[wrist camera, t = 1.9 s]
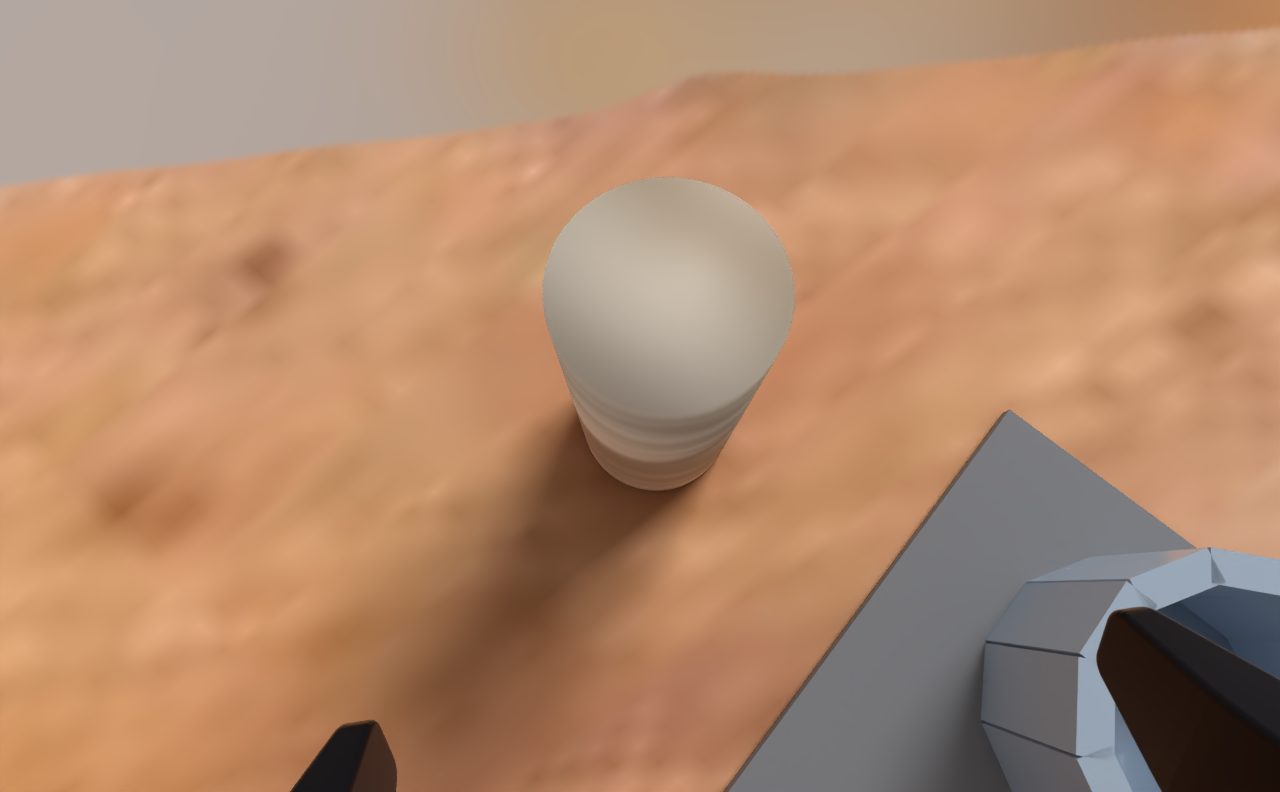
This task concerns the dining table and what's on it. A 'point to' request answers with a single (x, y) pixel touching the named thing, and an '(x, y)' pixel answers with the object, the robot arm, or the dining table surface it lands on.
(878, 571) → the dining table surface
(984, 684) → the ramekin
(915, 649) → the mat
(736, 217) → the stopper
